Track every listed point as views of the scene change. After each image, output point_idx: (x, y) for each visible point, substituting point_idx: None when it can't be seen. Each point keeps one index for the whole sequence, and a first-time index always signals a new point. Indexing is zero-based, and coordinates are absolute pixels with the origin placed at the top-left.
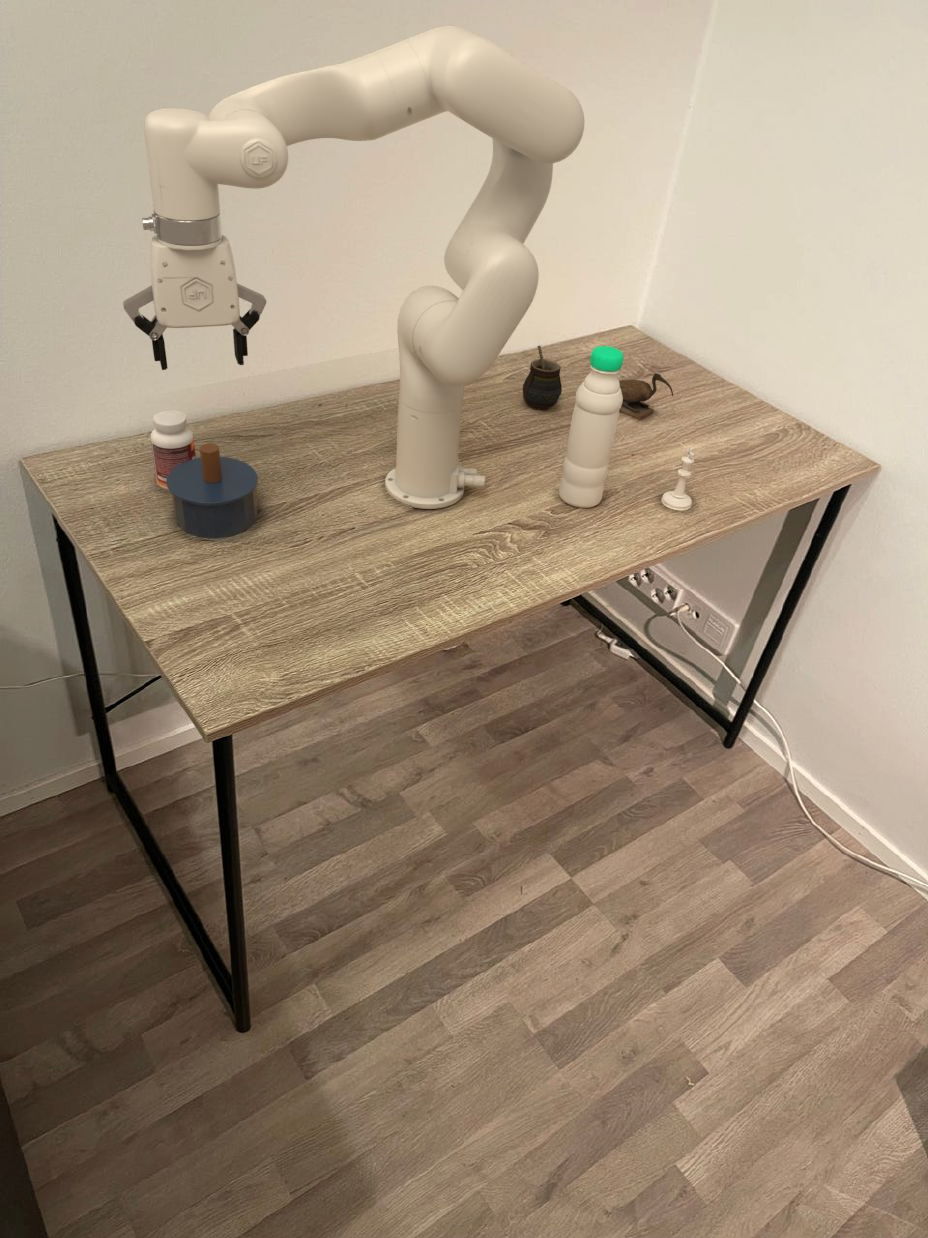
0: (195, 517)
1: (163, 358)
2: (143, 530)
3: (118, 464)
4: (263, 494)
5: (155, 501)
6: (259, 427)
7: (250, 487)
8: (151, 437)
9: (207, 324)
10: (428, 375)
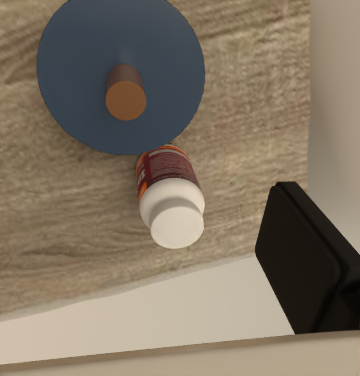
0: None
1: (307, 206)
2: (230, 58)
3: (223, 214)
4: (43, 114)
5: (199, 128)
6: (41, 270)
7: (53, 29)
8: (204, 204)
9: (71, 371)
10: None
